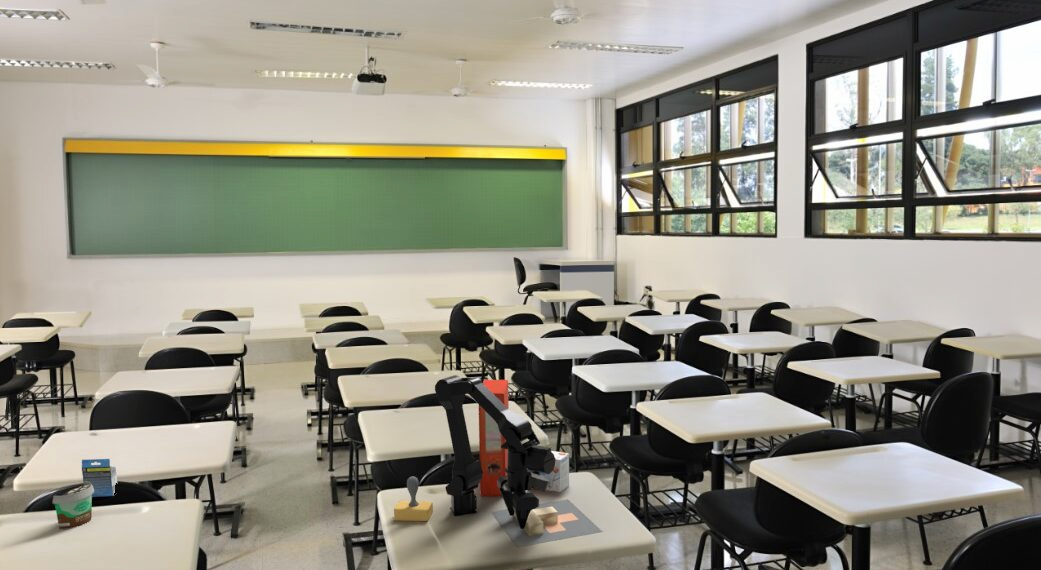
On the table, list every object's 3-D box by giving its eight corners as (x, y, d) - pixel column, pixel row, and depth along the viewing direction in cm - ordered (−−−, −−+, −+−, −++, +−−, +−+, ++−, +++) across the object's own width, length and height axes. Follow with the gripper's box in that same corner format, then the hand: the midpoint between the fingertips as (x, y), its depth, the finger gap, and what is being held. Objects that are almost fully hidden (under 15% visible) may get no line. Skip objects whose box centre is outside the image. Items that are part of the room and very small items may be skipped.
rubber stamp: (433, 513, 217) (431, 473, 216) (428, 522, 212) (426, 480, 210) (399, 512, 219) (398, 472, 217) (394, 521, 213) (392, 480, 212)
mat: (517, 548, 194) (517, 546, 194) (490, 513, 216) (490, 511, 216) (602, 533, 202) (602, 531, 202) (567, 500, 224) (567, 499, 224)
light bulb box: (529, 488, 235) (529, 454, 233) (539, 481, 241) (538, 448, 239) (561, 494, 230) (560, 459, 228) (570, 486, 236) (569, 452, 234)
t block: (529, 535, 200) (529, 524, 200) (513, 515, 213) (512, 505, 213) (564, 529, 203) (564, 518, 203) (546, 510, 216) (546, 499, 216)
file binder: (510, 476, 246) (508, 379, 242) (506, 496, 229) (504, 393, 225) (485, 476, 246) (483, 379, 243) (480, 496, 229) (477, 393, 226)
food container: (74, 532, 210) (70, 497, 209) (55, 530, 212) (51, 496, 211) (106, 514, 222) (103, 481, 221) (88, 513, 224) (85, 480, 223)
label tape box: (118, 491, 240) (115, 454, 239) (112, 496, 236) (109, 458, 235) (90, 493, 240) (87, 455, 238) (83, 498, 236) (80, 459, 234)
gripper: (558, 474, 198) (556, 532, 200) (534, 453, 216) (533, 506, 218) (517, 478, 195) (516, 537, 196) (497, 456, 213) (496, 510, 214)
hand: (516, 521), depth 206 cm, fingers open, 9 cm apart
